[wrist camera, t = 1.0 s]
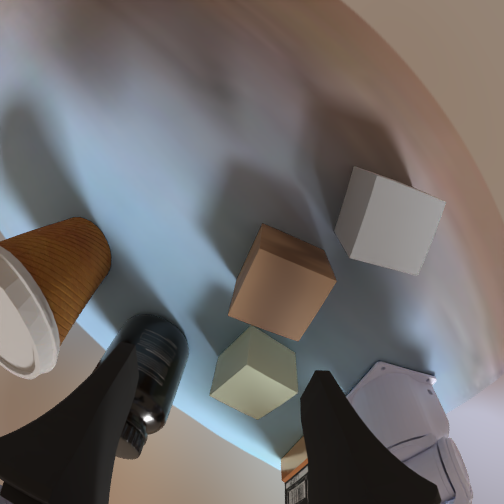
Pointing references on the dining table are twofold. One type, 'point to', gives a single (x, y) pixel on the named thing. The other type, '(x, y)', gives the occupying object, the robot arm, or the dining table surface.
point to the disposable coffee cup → (46, 290)
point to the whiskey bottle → (296, 474)
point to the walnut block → (281, 284)
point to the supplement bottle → (150, 377)
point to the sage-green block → (255, 374)
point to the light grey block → (387, 222)
